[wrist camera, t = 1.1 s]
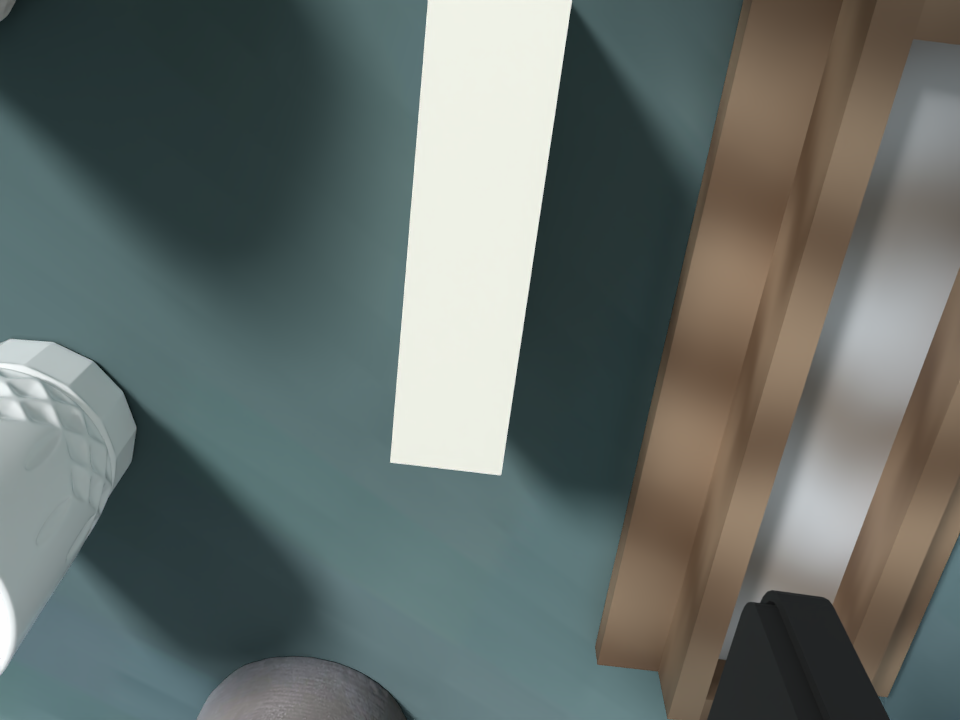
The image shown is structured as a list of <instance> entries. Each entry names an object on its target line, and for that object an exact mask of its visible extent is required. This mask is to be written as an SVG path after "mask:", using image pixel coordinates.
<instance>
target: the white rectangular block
mask: <svg viewBox="0 0 960 720" xmlns="http://www.w3.org/2000/svg"><path fill="white" fill-rule="evenodd" d="M571 4H572V0H428V8H427V21H426V33H425V45H424V57H423V69H422V82H421V94H420V106H419V118H418V130H417V142H416V155H415V167H414V179H413V191H412V203H411V216H410V228H409V240H408V252H407V264H406V276H405V289H404V301H403V313H402V325H401V337H400V350H399V362H398V374H397V386H396V398H395V410H394V423H393V435H392V447H391V459H390V462H391V463H399V464H408V465H416V466H425V467H434V468H442V469H451V470H460V471H468V472H477V473H485V474H494V475H501V473H502V466H503V459H504V452H505V446H506V439H507V432H508V426H509V419H510V412H511V406H512V399H513V392H514V385H515V379H516V372H517V365H518V359H519V352H520V345H521V339H522V332H523V325H524V318H525V312H526V305H527V298H528V292H529V285H530V278H531V272H532V265H533V258H534V251H535V245H536V238H537V231H538V225H539V218H540V211H541V205H542V198H543V191H544V184H545V178H546V171H547V164H548V158H549V151H550V144H551V138H552V131H553V124H554V118H555V111H556V104H557V97H558V91H559V84H560V77H561V71H562V64H563V57H564V51H565V44H566V37H567V30H568V24H569V17H570V10H571Z"/></svg>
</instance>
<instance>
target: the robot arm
mask: <svg viewBox="0 0 960 720" xmlns="http://www.w3.org/2000/svg"><path fill="white" fill-rule="evenodd" d="M707 720H890V719H889V717H888V715H887V713H886V711H885V709H884V707H883V705H882V703H881V701H880V699H879V697H878V695H877V693H876V691H875V689H874V687H873V685H872V683H871V681H870V679H869V677H868V675H867V673H866V671H865V669H864V667H863V665H862V663H861V661H860V659H859V657H858V655H857V653H856V651H855V649H854V647H853V645H852V643H851V641H850V639H849V637H848V635H847V633H846V630H845V628H844V626H843V624H842V622H841V620H840V618H839V616H838V614H837V612H836V610H835V608H834V607H833V605H832V604H831V602H830V601H829V600H828V599H826V598H824V597H819V596H812V595H805V594H797V593H790V592H783V591H775V590H771V591H767V592H766V593H765V595H764V596H763V597H762V600H761V602H760V603H756V602H748V603H747V604H746V605H745V606H744V608H743V610H742V613H741V616H740V619H739V622H738V625H737V628H736V631H735V634H734V637H733V641H732V644H731V647H730V650H729V653H728V656H727V659H726V662H725V665H724V669H723V672H722V675H721V678H720V681H719V684H718V687H717V690H716V694H715V697H714V700H713V703H712V706H711V709H710V712H709V715H708V718H707Z"/></svg>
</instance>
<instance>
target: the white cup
mask: <svg viewBox="0 0 960 720" xmlns="http://www.w3.org/2000/svg"><path fill="white" fill-rule="evenodd" d="M135 436H136V424H135V422H134V419H133V416H132V414H131V411H130V409H129V406H128V403H127V401H126V398H125V395H124V393H123V391H122V390H121V389H120V388H119V387H118V386H117V385H116V384H115V383H114V382H113V381H112V380H111V379H110V378H109V377H108V376H107V375H106V374H105V372H104V371H103V370H102V369H101V368H100V367H99V366H98V365H97V364H96V363H95V362H94V361H92V360H90V359H88V358H86V357H84V356H82V355H80V354H78V353H75V352H73V351H71V350H69V349H67V348H65V347H63V346H61V345H59V344H57V343H54V342H47V341H34V340H20V339H9V340H7V341H4V342H2V343H0V675H1V674H2V673H3V672H4V670H5V669H6V668H7V666H8V664H9V663H10V661H11V660H12V658H13V656H14V655H15V653H16V652H17V650H18V648H19V647H20V645H21V644H22V642H23V641H24V639H25V637H26V636H27V634H28V633H29V631H30V629H31V628H32V626H33V625H34V623H35V622H36V620H37V618H38V617H39V615H40V614H41V612H42V611H43V609H44V607H45V606H46V604H47V603H48V601H49V600H50V598H51V597H52V595H53V593H54V592H55V590H56V589H57V587H58V586H59V584H60V582H61V581H62V579H63V578H64V576H65V575H66V573H67V571H68V570H69V568H70V567H71V565H72V563H73V562H74V560H75V558H76V557H77V555H78V553H79V551H80V549H81V548H82V546H83V544H84V542H85V540H86V539H87V537H88V536H89V534H90V533H91V531H92V529H93V528H94V526H95V524H96V523H97V521H98V519H99V518H100V515H101V513H102V511H103V509H104V506H105V504H106V502H107V499H108V497H109V496H110V494H111V493H112V491H113V490H114V488H115V487H116V485H117V484H118V482H119V480H120V479H121V477H122V476H123V474H124V473H125V471H126V470H127V468H128V467H129V465H130V464H131V462H132V457H133V450H134V443H135Z"/></svg>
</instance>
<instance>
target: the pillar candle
mask: <svg viewBox="0 0 960 720" xmlns="http://www.w3.org/2000/svg"><path fill="white" fill-rule="evenodd" d="M197 720H407V719H406V718H405V716H404V713H402V710H401V708H400V706H399V705H398V703H397V702H396V701H395V699H394V698H393V697H392V696H391V695H390V694H389V692H388V691H386V690H385V689H384V688H382V687H381V686H380V685H379V684H378V683H376V682H374V681H373V680H371V679H370V678H368V677H367V676H366V675H364V674H362V673H360V672H358V671H356V670H354V669H351V668H349V667H346V666H344V665H341V664H338V663H335V662H331V661H327V660H322V659H318V658H313V657H295V656H289V657H274V658H268V659H263V660H261V661H257V662H252V663H249V664H247V665H244V666H242V667H240V668H239V669H237V670H236V671H234V672H233V673H232V674H230V675H229V676H228V677H227V678H226V679H225V680H224V681H223V682H222V683H221V684H220V685H219V686H218V687H217V688H216V689H214V690H213V691H212V693H211V694H210V695H209V697H208V698H207V700H206V702H205V704H204V706H203V708H202V709H201V711H200V713H199V716H198V718H197Z"/></svg>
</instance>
